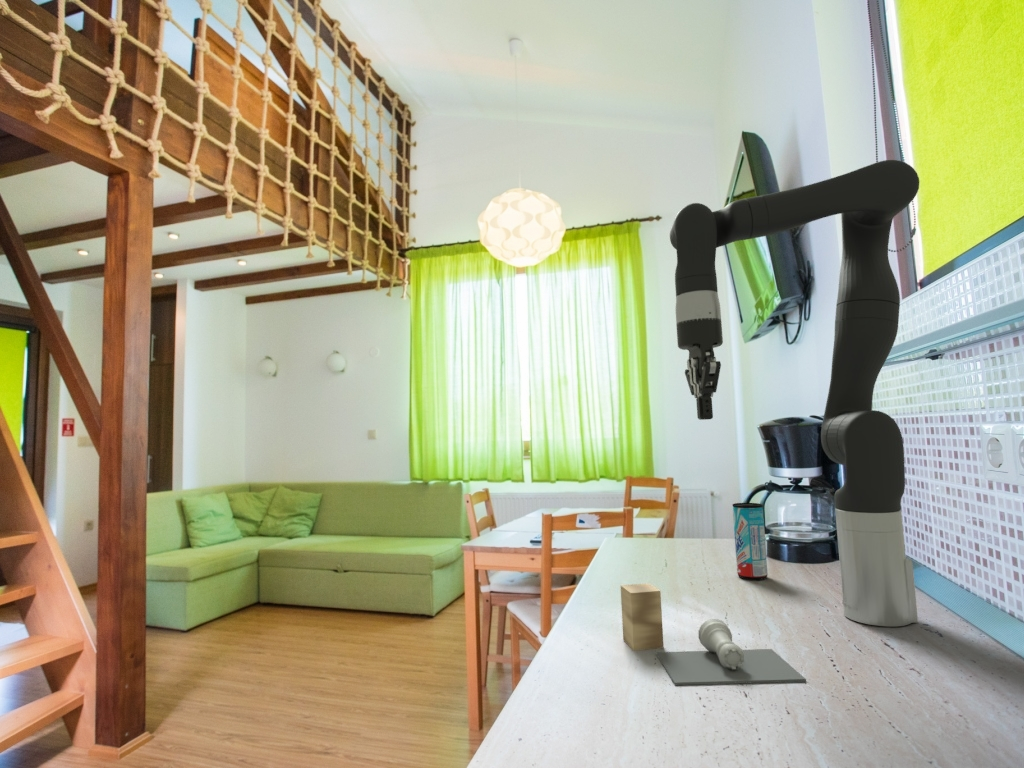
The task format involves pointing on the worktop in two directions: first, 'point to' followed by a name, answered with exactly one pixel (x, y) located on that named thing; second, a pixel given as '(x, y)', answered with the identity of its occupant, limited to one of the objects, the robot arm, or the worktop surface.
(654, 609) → the oak block
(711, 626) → the rook chess piece
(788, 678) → the mat
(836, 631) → the worktop surface
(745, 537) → the beverage can
